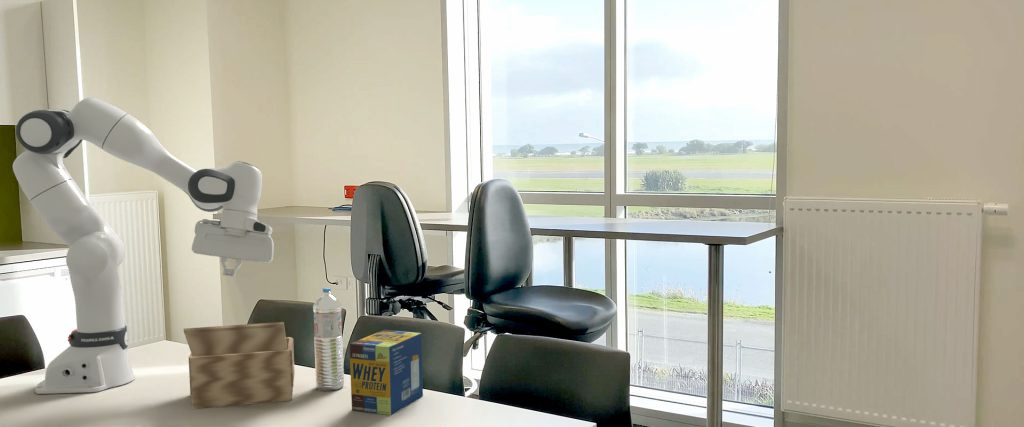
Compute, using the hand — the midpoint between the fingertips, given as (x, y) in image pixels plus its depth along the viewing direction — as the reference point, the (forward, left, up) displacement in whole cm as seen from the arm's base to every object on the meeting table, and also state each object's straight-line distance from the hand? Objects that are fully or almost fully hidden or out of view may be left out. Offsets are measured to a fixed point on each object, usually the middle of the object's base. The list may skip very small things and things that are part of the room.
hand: (228, 275), depth 204 cm
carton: (+5, -18, -27) cm, 33 cm away
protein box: (+38, -34, -27) cm, 57 cm away
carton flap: (+5, -30, -10) cm, 32 cm away
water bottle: (+25, -17, -27) cm, 40 cm away
